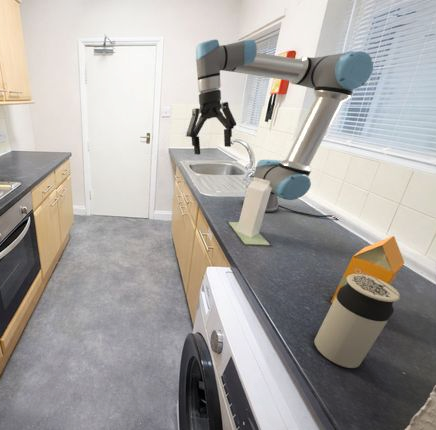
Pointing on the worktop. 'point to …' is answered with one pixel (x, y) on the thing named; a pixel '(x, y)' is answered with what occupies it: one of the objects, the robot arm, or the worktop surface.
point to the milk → (254, 207)
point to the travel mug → (355, 319)
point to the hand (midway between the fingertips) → (212, 150)
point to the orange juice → (375, 262)
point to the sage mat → (247, 240)
